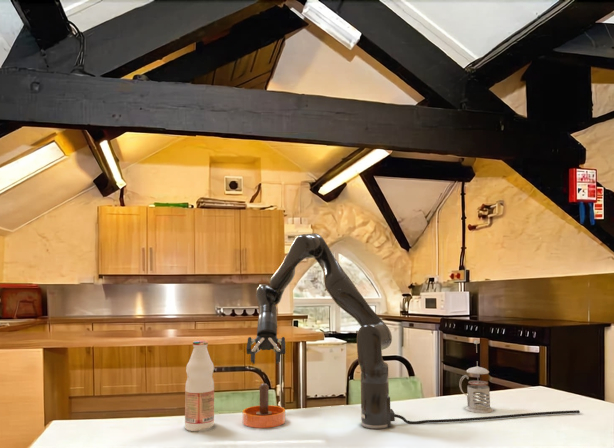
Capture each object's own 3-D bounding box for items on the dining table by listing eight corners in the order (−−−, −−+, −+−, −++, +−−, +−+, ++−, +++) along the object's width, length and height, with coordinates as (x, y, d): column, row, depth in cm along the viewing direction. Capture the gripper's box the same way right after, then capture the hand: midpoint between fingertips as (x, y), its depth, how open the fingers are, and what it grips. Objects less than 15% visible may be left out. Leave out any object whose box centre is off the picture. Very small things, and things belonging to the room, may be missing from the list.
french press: (497, 412, 189) (494, 341, 191) (464, 413, 189) (462, 342, 191) (488, 406, 198) (485, 338, 201) (457, 406, 199) (454, 338, 201)
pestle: (272, 419, 179) (272, 381, 180) (271, 423, 174) (271, 384, 175) (256, 419, 179) (256, 381, 180) (255, 424, 174) (255, 384, 175)
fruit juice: (182, 432, 168) (183, 343, 171) (187, 423, 178) (188, 339, 180) (211, 431, 169) (212, 342, 171) (215, 423, 178) (216, 339, 181)
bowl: (285, 418, 184) (285, 405, 184) (284, 430, 169) (284, 415, 170) (244, 418, 183) (245, 405, 184) (240, 430, 169) (240, 416, 170)
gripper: (248, 320, 199) (245, 356, 187) (285, 320, 200) (285, 356, 187) (249, 333, 204) (246, 368, 192) (285, 332, 204) (285, 368, 192)
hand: (265, 362), depth 189 cm, fingers open, 8 cm apart
